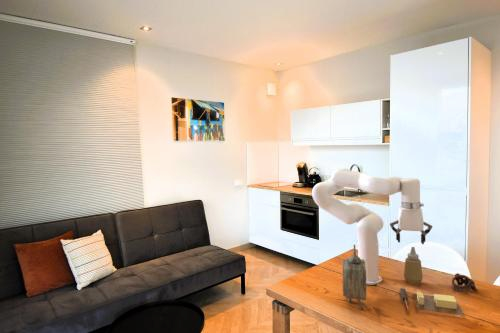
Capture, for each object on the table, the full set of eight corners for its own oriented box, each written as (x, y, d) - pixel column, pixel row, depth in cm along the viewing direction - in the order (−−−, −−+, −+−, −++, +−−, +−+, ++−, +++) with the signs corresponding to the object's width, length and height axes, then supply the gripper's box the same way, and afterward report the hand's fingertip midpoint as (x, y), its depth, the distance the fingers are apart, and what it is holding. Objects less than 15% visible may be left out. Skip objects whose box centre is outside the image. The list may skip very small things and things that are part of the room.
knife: (405, 314, 121) (405, 308, 121) (400, 293, 138) (400, 288, 138) (410, 315, 121) (410, 308, 120) (405, 294, 137) (405, 288, 137)
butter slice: (418, 304, 126) (418, 297, 126) (417, 298, 131) (417, 291, 131) (424, 304, 126) (424, 297, 126) (422, 299, 130) (422, 292, 130)
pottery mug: (484, 297, 134) (478, 283, 132) (462, 304, 136) (456, 291, 134) (467, 278, 145) (461, 265, 143) (447, 286, 147) (441, 273, 145)
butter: (436, 306, 124) (436, 299, 124) (433, 300, 129) (433, 293, 129) (456, 309, 122) (456, 302, 121) (453, 303, 126) (453, 296, 126)
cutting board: (417, 312, 123) (417, 309, 123) (412, 295, 136) (412, 293, 136) (464, 318, 117) (464, 315, 117) (454, 301, 130) (454, 298, 130)
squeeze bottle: (421, 281, 149) (422, 245, 148) (423, 288, 142) (423, 250, 141) (403, 279, 153) (403, 243, 151) (403, 286, 145) (403, 248, 144)
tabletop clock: (366, 312, 124) (366, 251, 122) (343, 309, 126) (342, 250, 125) (364, 295, 138) (363, 240, 136) (343, 293, 140) (342, 239, 139)
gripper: (430, 204, 139) (430, 241, 140) (389, 203, 145) (389, 238, 146) (434, 207, 132) (433, 246, 133) (390, 206, 138) (390, 243, 139)
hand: (410, 242), depth 140 cm, fingers open, 9 cm apart
